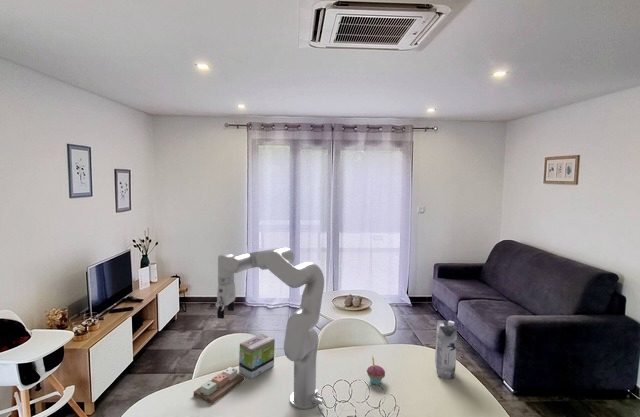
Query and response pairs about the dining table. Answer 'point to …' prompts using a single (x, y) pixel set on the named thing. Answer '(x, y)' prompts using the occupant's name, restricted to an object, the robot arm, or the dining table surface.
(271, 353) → the tea box
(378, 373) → the cupcake
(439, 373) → the juice carton
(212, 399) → the tile board
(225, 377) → the pink three-dot die face
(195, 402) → the dining table surface
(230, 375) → the two-pip tile
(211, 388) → the pale grey square block
